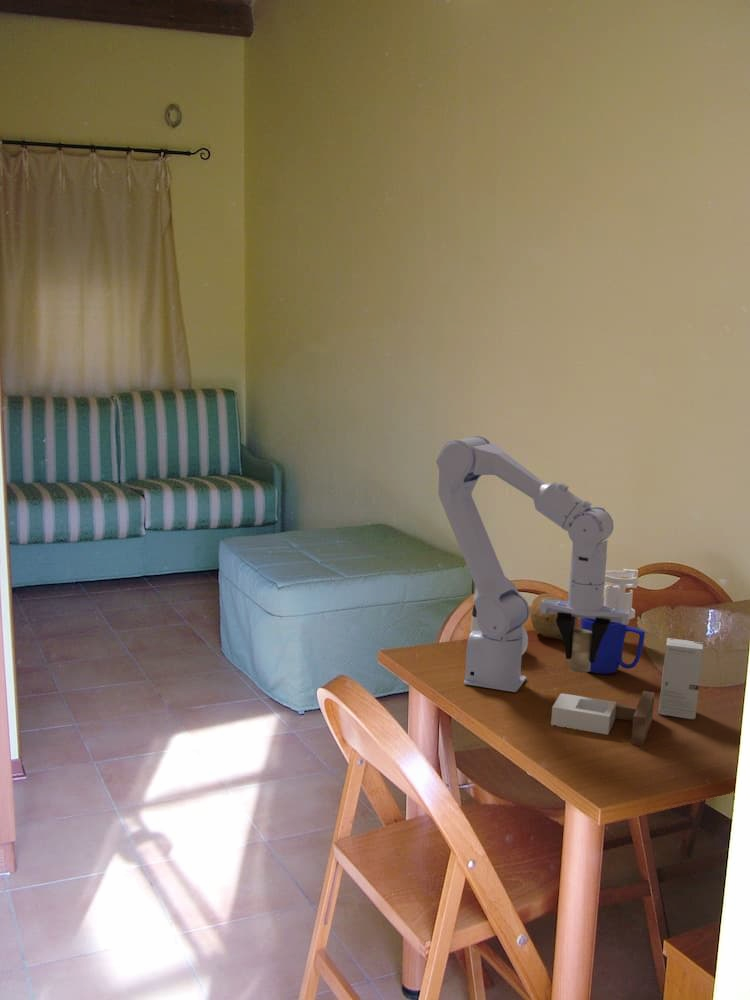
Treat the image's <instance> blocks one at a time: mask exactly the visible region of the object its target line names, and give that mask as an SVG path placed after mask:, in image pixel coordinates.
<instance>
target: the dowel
mask: <svg viewBox="0 0 750 1000" xmlns="http://www.w3.org/2000/svg"><path fill="white" fill-rule="evenodd" d="M591 647H592V631H590V630H585V629H581V628H577V629H575V630H573V634H572V647H571V658H570V659H569V660H570V662H569V663H570V664H569V670H570V671H573V672H575V673H588V672H590V668H591V662H590V653H591Z"/></svg>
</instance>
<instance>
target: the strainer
mask: <svg viewBox="0 0 750 1000" xmlns="http://www.w3.org/2000/svg"><path fill="white" fill-rule="evenodd" d="M605 582H606V583H609V584H607V585H604V595H603V605H604V606H608V607H612V608H616V609H621V610H626V611H630V615H629V620H633V619H634V618H636V610H635V609H634V608H633V607H632V606H633V595H634V594H633V593H634V590H633V589H638V582H639V570H638V569H629V568H623V569H622V570H606V571H605ZM611 584H612V585H611ZM629 588H630V589H629ZM631 588H632V589H631ZM626 589H629V592H626Z"/></svg>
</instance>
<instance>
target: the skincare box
mask: <svg viewBox="0 0 750 1000" xmlns="http://www.w3.org/2000/svg"><path fill="white" fill-rule="evenodd" d="M704 645H705V644H704V643H703V642H699V641H691V640H687V639H686V640H685V639H677V638H671V637H667V638H666V644H665V651H664V659H663V660H664V661H663V668H662V676H661V687H660V696H659V703H658V705H659V706H658V715H662V716H669V717H676V718H680V719H687V720H696V716H697V715H696V714H697V707H698V699H699V690H700V681H701V673H702V667H703V664H702V663H703V657H704Z"/></svg>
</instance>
